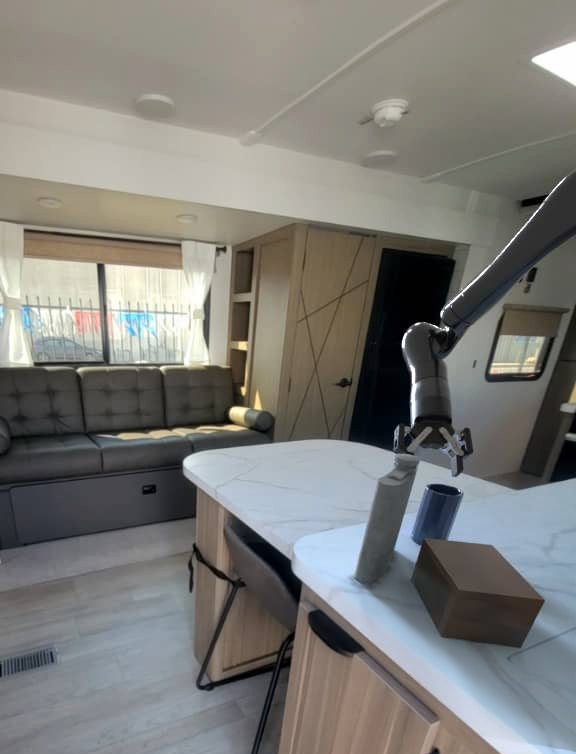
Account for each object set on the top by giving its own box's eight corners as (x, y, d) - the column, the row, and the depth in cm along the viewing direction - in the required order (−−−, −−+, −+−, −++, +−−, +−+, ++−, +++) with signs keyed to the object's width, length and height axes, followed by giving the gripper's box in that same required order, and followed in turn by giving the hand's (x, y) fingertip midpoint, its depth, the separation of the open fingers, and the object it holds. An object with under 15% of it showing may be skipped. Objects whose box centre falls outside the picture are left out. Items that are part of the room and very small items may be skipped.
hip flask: (377, 542, 79) (403, 442, 71) (399, 549, 77) (429, 447, 68) (351, 578, 68) (379, 465, 59) (376, 588, 66) (409, 472, 57)
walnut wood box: (475, 586, 67) (492, 544, 63) (521, 648, 54) (545, 600, 51) (410, 579, 68) (423, 537, 65) (441, 637, 56) (459, 589, 52)
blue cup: (439, 534, 83) (455, 484, 78) (450, 550, 77) (469, 497, 72) (406, 531, 84) (421, 482, 79) (416, 546, 78) (432, 494, 73)
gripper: (401, 392, 84) (402, 462, 79) (476, 396, 82) (482, 468, 77) (388, 412, 91) (389, 478, 86) (457, 416, 89) (462, 484, 84)
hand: (433, 473), depth 81 cm, fingers open, 8 cm apart
